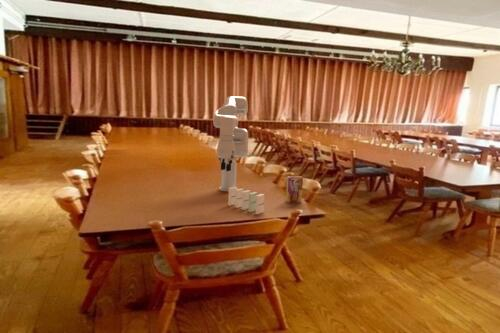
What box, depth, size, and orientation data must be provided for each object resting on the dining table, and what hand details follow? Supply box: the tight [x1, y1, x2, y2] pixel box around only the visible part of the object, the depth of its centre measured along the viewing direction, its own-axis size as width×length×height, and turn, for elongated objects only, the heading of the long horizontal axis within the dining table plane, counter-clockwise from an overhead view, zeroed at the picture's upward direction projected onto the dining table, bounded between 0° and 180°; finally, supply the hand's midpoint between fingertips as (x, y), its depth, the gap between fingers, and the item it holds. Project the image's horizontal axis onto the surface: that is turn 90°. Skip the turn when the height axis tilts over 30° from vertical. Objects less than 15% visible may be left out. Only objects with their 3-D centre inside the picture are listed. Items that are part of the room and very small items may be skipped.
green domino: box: [247, 191, 258, 213], centre depth 187 cm, size 2×5×10 cm, turn 140°
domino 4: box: [255, 193, 265, 215], centre depth 183 cm, size 2×5×10 cm, turn 139°
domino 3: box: [240, 189, 251, 211], centre depth 190 cm, size 2×5×10 cm, turn 140°
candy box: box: [285, 175, 304, 203], centre depth 207 cm, size 9×4×15 cm, turn 96°
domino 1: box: [227, 186, 237, 207], centre depth 196 cm, size 2×5×10 cm, turn 140°
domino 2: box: [234, 187, 245, 209], centre depth 193 cm, size 2×5×10 cm, turn 139°
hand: (225, 169), depth 197 cm, fingers open, 3 cm apart
